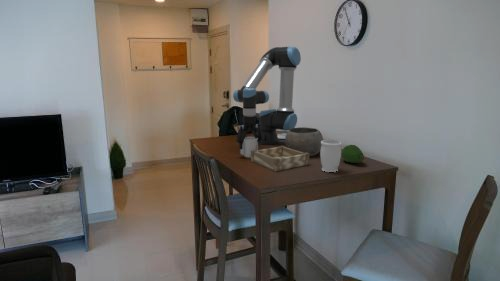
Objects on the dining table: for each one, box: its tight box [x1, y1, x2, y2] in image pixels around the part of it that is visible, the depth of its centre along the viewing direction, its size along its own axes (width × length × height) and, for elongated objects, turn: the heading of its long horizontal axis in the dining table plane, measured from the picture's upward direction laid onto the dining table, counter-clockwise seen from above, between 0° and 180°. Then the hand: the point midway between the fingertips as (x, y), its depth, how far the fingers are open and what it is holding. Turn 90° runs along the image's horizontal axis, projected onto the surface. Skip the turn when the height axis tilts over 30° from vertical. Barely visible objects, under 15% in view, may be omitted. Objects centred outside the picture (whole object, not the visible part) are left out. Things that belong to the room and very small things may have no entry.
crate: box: [250, 145, 310, 172], centre depth 189 cm, size 23×23×6 cm
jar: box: [319, 139, 343, 173], centre depth 175 cm, size 11×10×15 cm
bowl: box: [284, 127, 324, 158], centre depth 210 cm, size 23×23×15 cm
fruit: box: [341, 144, 365, 164], centre depth 190 cm, size 15×10×10 cm, turn 15°
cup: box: [243, 136, 258, 159], centre depth 203 cm, size 10×10×11 cm
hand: (249, 153), depth 203 cm, fingers closed on cup, 9 cm apart
